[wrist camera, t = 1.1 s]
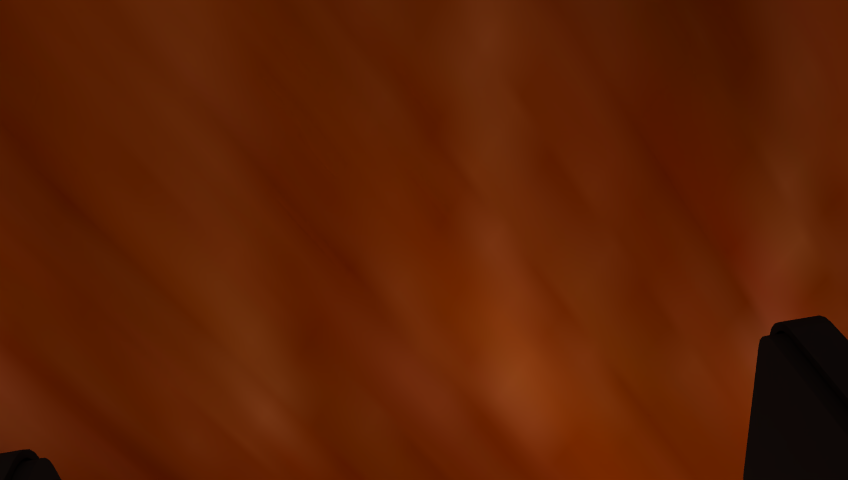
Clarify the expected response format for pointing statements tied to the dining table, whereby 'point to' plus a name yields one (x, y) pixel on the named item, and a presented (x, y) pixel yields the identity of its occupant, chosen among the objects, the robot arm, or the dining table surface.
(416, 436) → the dining table surface
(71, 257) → the dining table surface
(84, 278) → the dining table surface
